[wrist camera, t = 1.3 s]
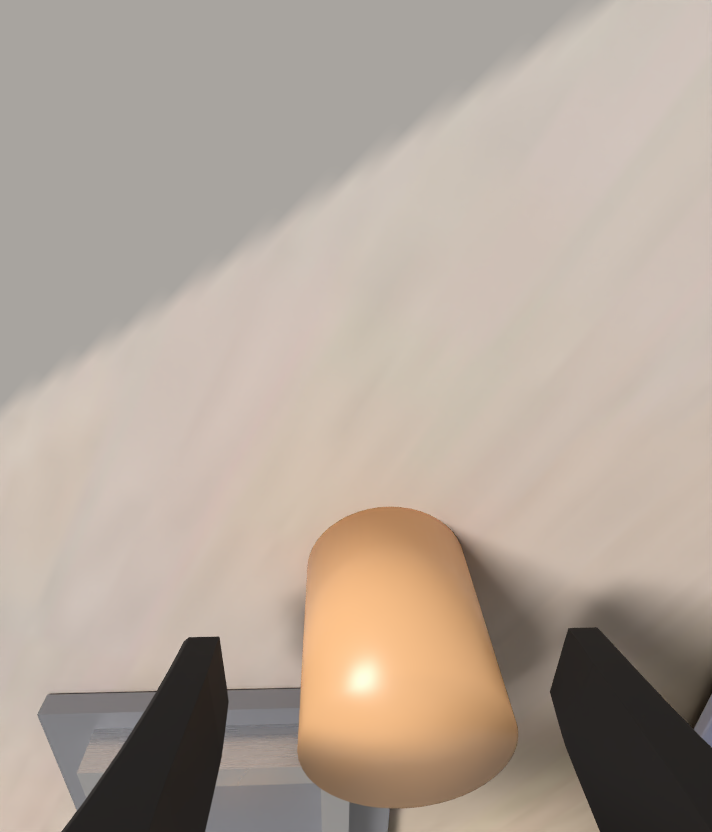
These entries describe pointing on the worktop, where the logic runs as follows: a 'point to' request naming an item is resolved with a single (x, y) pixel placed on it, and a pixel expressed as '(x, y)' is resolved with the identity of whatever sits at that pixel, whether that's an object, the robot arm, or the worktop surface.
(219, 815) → the frame
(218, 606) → the worktop surface
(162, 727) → the robot arm
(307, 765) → the peach rounded capsule
